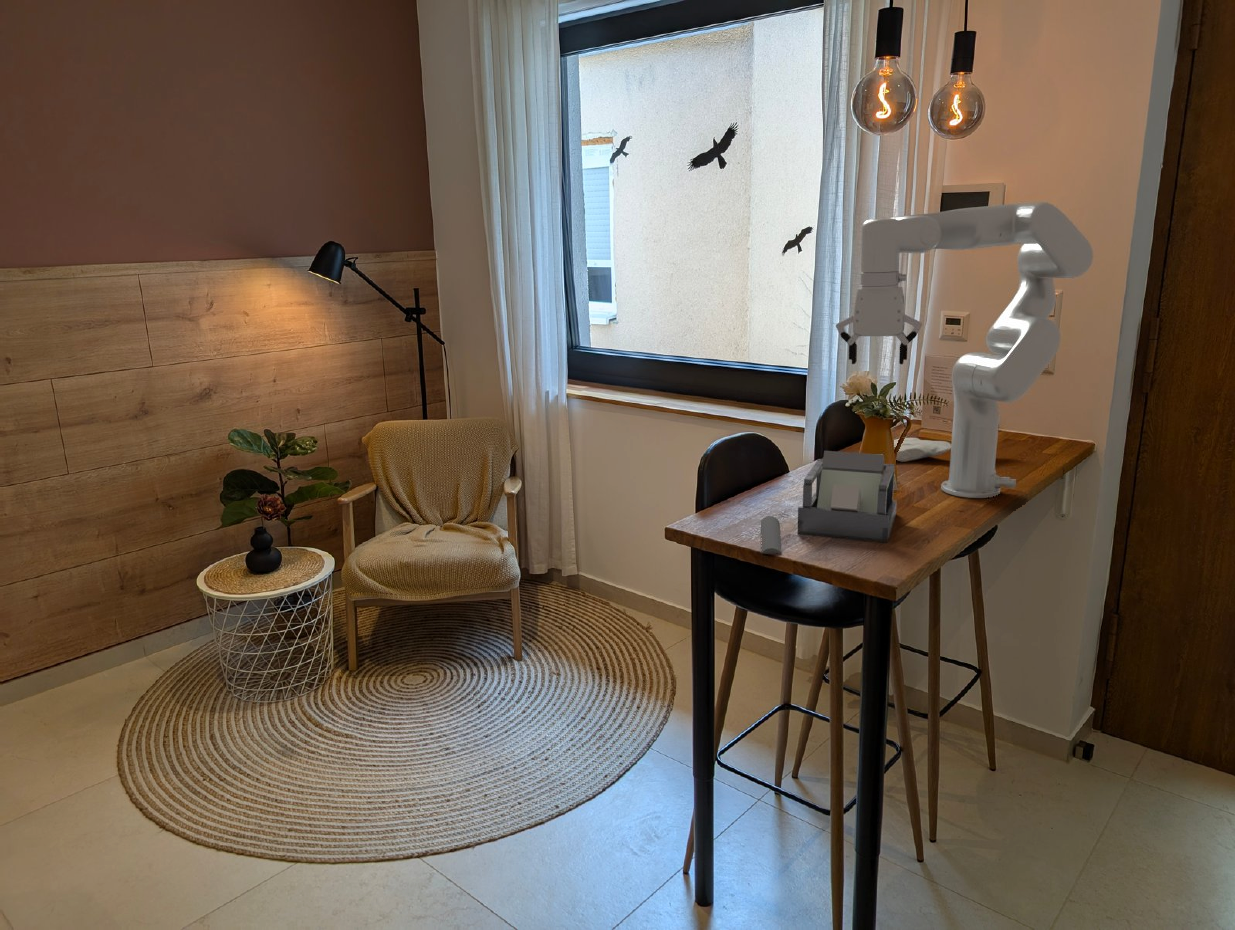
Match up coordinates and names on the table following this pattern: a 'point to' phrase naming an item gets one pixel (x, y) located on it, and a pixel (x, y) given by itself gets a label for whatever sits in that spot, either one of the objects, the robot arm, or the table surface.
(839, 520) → the trapdoor frame
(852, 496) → the matte off-white cube
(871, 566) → the table surface
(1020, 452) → the table surface
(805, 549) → the table surface
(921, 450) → the rock
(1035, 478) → the table surface
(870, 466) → the trapdoor
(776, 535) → the gray half cylinder
